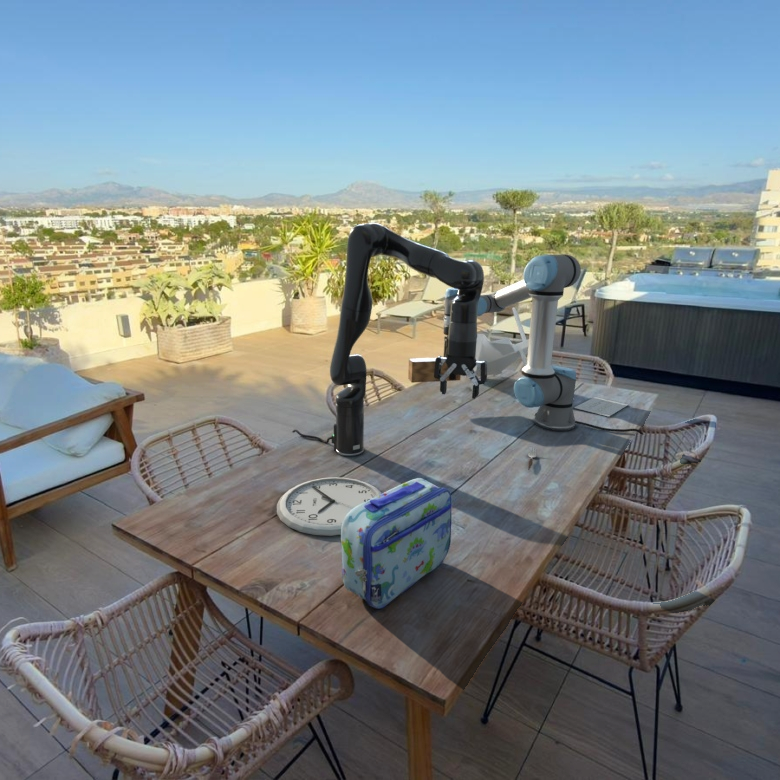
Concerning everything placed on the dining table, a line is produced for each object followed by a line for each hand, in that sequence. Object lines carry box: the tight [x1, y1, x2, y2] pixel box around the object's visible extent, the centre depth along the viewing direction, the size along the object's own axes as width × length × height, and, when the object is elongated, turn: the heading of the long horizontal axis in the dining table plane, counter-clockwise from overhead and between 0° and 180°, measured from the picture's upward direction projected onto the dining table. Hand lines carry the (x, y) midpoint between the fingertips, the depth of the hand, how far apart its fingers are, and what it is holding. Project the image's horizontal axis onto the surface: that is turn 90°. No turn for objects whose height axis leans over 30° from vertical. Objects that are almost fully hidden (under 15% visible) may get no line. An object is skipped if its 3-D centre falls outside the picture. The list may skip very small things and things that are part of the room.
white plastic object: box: [464, 307, 529, 378], centre depth 258 cm, size 37×45×31 cm
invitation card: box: [573, 396, 629, 418], centre depth 226 cm, size 21×1×15 cm
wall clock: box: [276, 476, 383, 537], centre depth 142 cm, size 30×2×30 cm
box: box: [407, 356, 462, 383], centre depth 227 cm, size 22×6×9 cm, turn 102°
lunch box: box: [340, 477, 452, 610], centre depth 110 cm, size 26×11×21 cm, turn 134°
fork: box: [527, 446, 538, 471], centre depth 171 cm, size 3×16×2 cm, turn 160°
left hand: (459, 395), depth 144 cm, fingers open, 8 cm apart
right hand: (449, 377), depth 229 cm, fingers closed on box, 6 cm apart
